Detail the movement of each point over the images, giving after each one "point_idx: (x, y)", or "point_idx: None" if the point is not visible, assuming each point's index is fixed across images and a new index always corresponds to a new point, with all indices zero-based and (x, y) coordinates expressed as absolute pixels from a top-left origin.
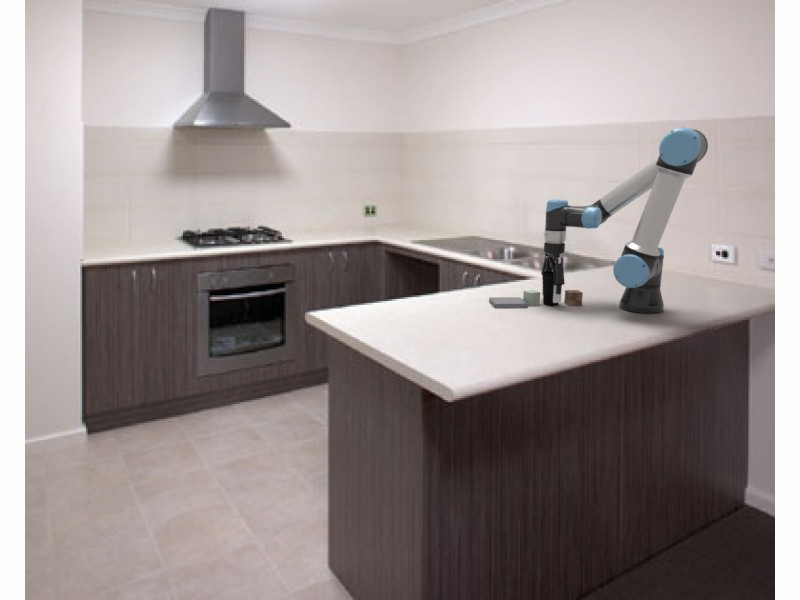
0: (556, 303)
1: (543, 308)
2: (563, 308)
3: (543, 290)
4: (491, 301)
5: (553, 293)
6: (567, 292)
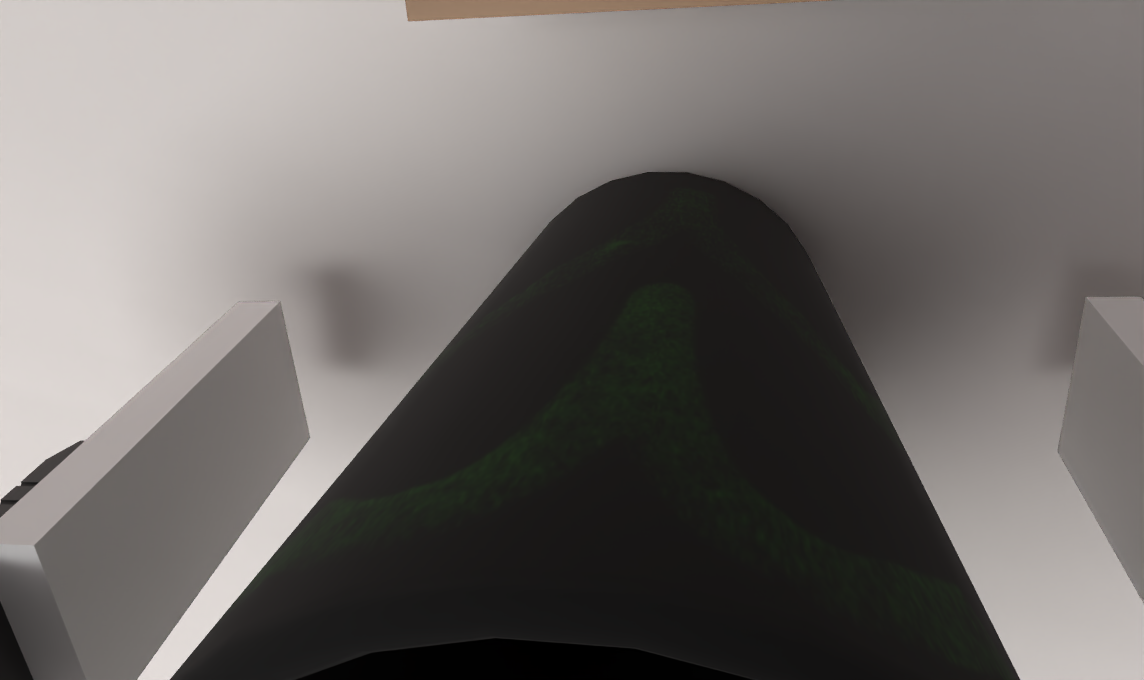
0: (813, 268)
1: (1007, 537)
2: (1084, 170)
3: (675, 666)
4: None
5: (1135, 588)
6: (644, 5)
